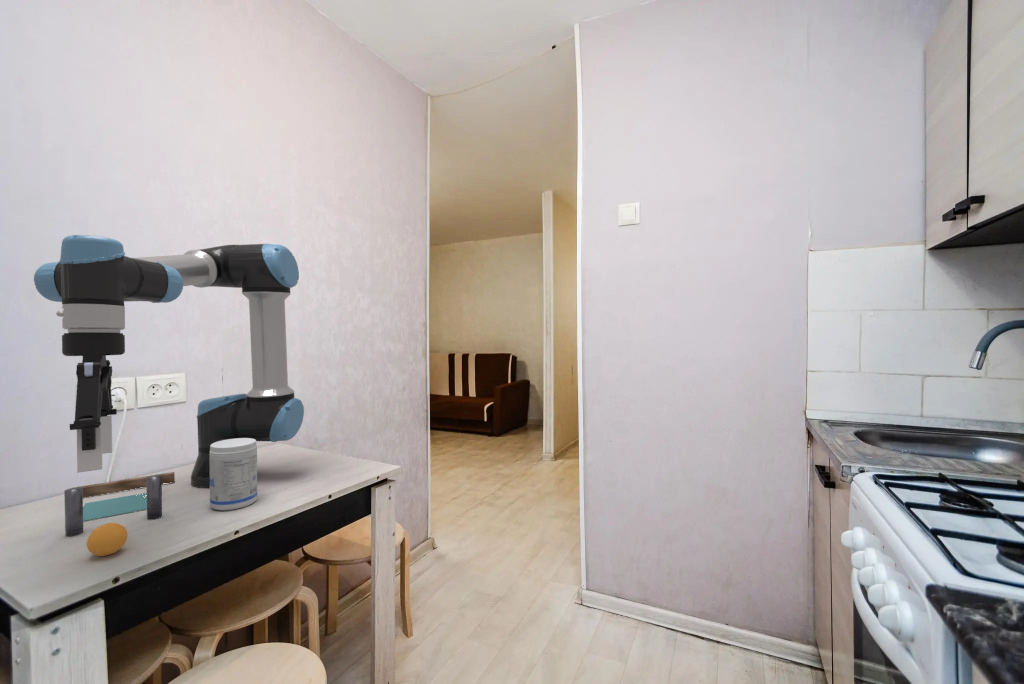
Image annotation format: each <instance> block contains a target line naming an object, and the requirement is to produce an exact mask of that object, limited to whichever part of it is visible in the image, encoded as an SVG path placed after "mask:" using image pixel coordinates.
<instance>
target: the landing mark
mask: <svg viewBox="0 0 1024 684" xmlns="http://www.w3.org/2000/svg"><path fill="white" fill-rule="evenodd" d="M142 493H143V495H142ZM142 493H138V495H137V493H136V494H131V495H126V496H120V497H119V496H118V497H114V498H109V499H101V500H97V501H92V502H91V501H90V502H86V503H84V504H83V523H85V522H88V521H89V520H90V521H94V519H95V520H99V519H98V518H100V519H105V518H109V516H111V517H115V515H116V516H120V515H119V514H121V515H125V513H126V514H131V513H135V512H134V511H137V512H140V511H139V510H142V511H145V510H144V509H147V496H146V497H145V495H147V493H146V492H142ZM145 493H146V494H145ZM139 494H140V495H139ZM136 495H137V496H136ZM143 496H144V497H145V498H144V497H143ZM130 512H131V513H130ZM104 517H105V518H104ZM84 521H85V522H84Z"/></svg>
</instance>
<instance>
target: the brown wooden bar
mask: <svg viewBox="0 0 1024 684" xmlns="http://www.w3.org/2000/svg"><path fill="white" fill-rule="evenodd" d="M152 475H153V474H152ZM152 475H150V476H152ZM156 475H161V479H162V484H163V483H170V482H176V481H175V479H176V478H175V471H170V472H165V473H159V474H156ZM148 476H149V475H146V476H145V475H144V476H138V477H134V478H132V477H131V478H125V479H121V480H119V479H118V480H113V481H108V482H107V481H105V482H101V483H94V484H88V485H82V486H79V487H82V488H83V497H86V498H90V497H89V496H92V497H95V496H94V495H98V496H102V495H101V494H104V495H108V494H107V493H110V494H114V493H113V492H116V493H120V492H119V491H122V492H125V491H124V490H128V491H131V490H130V489H134V490H136V489H135V488H140V487H146V477H148ZM170 484H171V483H170ZM75 487H76V486H75ZM75 487H73V488H75ZM140 489H141V488H140Z"/></svg>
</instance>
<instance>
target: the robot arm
mask: <svg viewBox="0 0 1024 684" xmlns="http://www.w3.org/2000/svg"><path fill="white" fill-rule="evenodd" d="M299 271H300V270H299V266H298V263H297V260H296V258H295V256H294V254H293V253H292V251H291V250H290V249H289V248H287V247H286V246H285V245H282V244H275V243H272V244H271V243H258V244H257V243H255V244H253V243H250V244H226V245H220V246H219V245H218V246H213V247H208V248H202V249H191V250H187V251H186V252H185V253H183V254H173V255H161V256H160V255H157V256H155V255H154V256H143V257H142V256H141V257H129V256H126V252H125V250H124V245H123V243H122V242H120V241H118V240H116V239H115V238H110V237H105V236H97V235H92V234H91V235H89V234H71V235H67V236H65V237H64V238H63V239H62V241H61V247H60V259H59V261H56V262H47V263H43V264H42V265H41V266H39V267H38V268H37V269H36V271H35V272H34V275H33V282H34V286H35V289H36V290H37V292H38V293H39V294H40V295H41V296H42V297H43V298H44V299H46V300H49V301H50V302H57V303H58V302H59V303H61V305H62V307H61V308H62V310H61V309H60V310H57V311H56V316H57V317H60V318H61V317H62V318H61V319H62V329H64V330H67V332H64V333H63V334H62V335H61V353H62V355H63V356H65V357H82V361H81V362H77V364H76V371H75V373H76V374H75V375H76V380H77V382H76V395H75V398H76V399H75V413H74V421H73V423H69V430H70V431H76V462H77V463H76V464H77V465H76V471H77V472H76V473H84V472H85V473H86V472H87V473H88V472H92V471H94V472H95V471H98V470H99V471H100V470H103V455H104V454H110V453H111V454H112V452H113V424H112V423H113V422H112V421H113V419H112V418H113V417H112V416H115V415H116V416H117V412H118V411H117V410H118V409H117V408H114V405H113V403H112V402H113V399H112V376H113V366H112V365H111V361H110V360H109V359H107V356H121V355H123V354H125V353H126V338H125V337H126V336H125V334H124V333H122V332H121V331H123V330H125V329H126V307H125V302H147V303H148V302H149V303H153V304H154V303H157V304H159V303H160V304H161V303H162V304H163V303H164V304H165V303H166V304H167V303H171V302H173V301H175V300H176V299H178V298H179V297H180V296H181V294H182V292H183V289H184V287H189V286H190V287H191V286H193V287H196V288H209V287H210V288H211V287H214V288H215V287H217V288H218V287H219V288H220V287H221V288H233V289H234V288H235V289H236V288H237V289H238V288H239V289H241V294H242V295H243V296H244V297H245V298H246V299H247V300H248V306H249V310H248V311H249V312H248V313H249V330H250V331H249V333H250V353H251V355H250V356H251V378H252V388H251V389H250V391H249V392H247V394H246V393H238V394H230V395H225V396H224V395H223V396H217V397H214V398H213V397H212V398H208V399H203V400H201V401H200V402H199V403H198V405H197V413H196V414H197V415H196V419H197V421H196V424H197V443H198V445H197V446H198V447H197V448H198V452H197V453H198V454H197V457H196V461H195V462H194V466H193V469H192V471H191V475H190V486H192V485H193V486H192V487H195V486H196V488H210V460H209V458H210V455H209V454H210V445H211V444H212V443H215V442H218V441H222V440H227V439H235V438H252V439H255V440H256V442H272V443H277V442H285V441H289V440H292V439H293V438H294V437H295V436H296V435H297V434H298V432H299V431H300V428H301V426H302V424H303V421H304V415H305V408H304V404H303V401H302V400H301V399H299V398H296V397H295V390H294V389H292V388H291V387H290V386H289V380H288V376H289V375H288V355H287V329H286V328H287V326H286V325H287V324H286V322H287V321H286V302H285V301H286V300H287V299H288V298H289V297H290V296H291V288H293V287H296V286H297V284H298V282H299V278H300V276H299V275H300V272H299Z"/></svg>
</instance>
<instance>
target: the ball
mask: <svg viewBox="0 0 1024 684" xmlns="http://www.w3.org/2000/svg"><path fill="white" fill-rule="evenodd" d="M128 535H129V533H128V530H127V528H126V527H125V526H124V525H123V524H121V523H118V522H108V523H104V524H102V525H99V526H98V527H96V528H94V529H93V530H92V531H91V533H90V534H89V535H88V537H87V542H86V548H87V550H88V552H90V553H91V554H92V555H95V556H99V557H105V556H109V555H112V554H114V553H116V552H118V551H119V550H121V549H122V547H124V545H125V544H126V542H127V540H128Z"/></svg>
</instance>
